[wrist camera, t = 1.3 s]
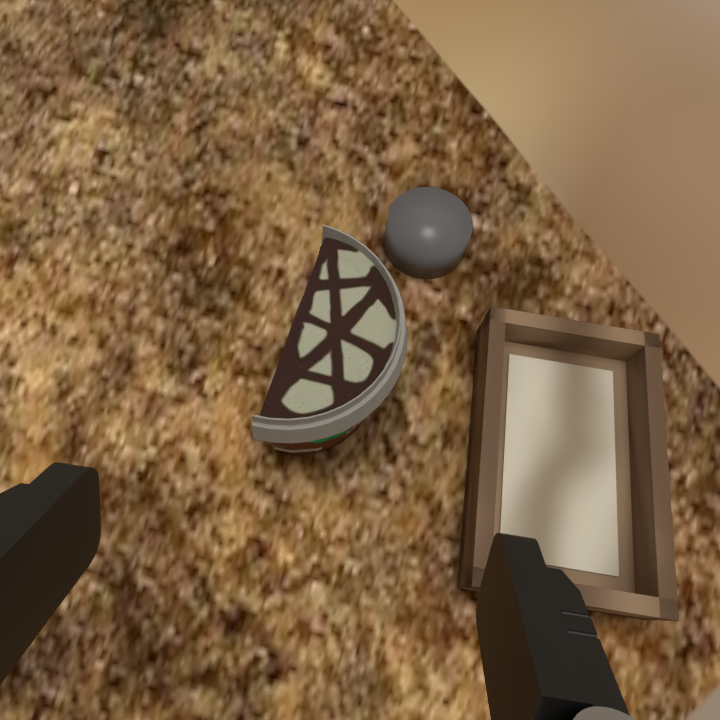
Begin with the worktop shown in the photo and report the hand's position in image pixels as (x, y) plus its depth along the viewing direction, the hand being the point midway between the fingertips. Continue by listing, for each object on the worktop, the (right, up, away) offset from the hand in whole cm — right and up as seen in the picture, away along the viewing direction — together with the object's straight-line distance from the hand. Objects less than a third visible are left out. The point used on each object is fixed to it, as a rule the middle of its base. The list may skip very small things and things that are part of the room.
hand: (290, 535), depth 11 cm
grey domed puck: (+6, +12, +31) cm, 34 cm away
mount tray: (+14, -3, +25) cm, 29 cm away
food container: (0, +1, +26) cm, 26 cm away
